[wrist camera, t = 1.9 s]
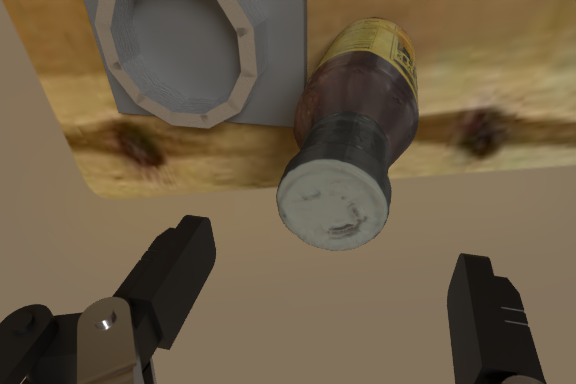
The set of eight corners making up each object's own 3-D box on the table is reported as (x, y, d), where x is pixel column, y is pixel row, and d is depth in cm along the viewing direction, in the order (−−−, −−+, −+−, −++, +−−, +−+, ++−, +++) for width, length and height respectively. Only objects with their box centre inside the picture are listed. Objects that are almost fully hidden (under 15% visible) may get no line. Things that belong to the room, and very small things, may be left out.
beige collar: (261, -56, 26) (247, -52, 23) (272, 117, 33) (262, 133, 31) (99, -52, 28) (72, -49, 26) (142, 107, 36) (124, 121, 33)
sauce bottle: (408, 98, 31) (408, 297, 15) (329, 93, 32) (255, 271, 16) (422, 8, 27) (442, 151, 11) (332, 6, 28) (238, 132, 13)
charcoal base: (306, -72, 26) (302, -71, 25) (307, 122, 34) (304, 128, 33) (74, -65, 29) (63, -64, 29) (125, 107, 38) (118, 112, 37)
